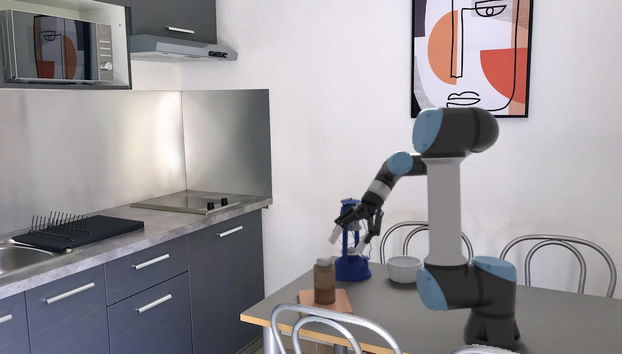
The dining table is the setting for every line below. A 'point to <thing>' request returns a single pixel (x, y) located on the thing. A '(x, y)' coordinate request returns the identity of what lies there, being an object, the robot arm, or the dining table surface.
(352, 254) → the lantern
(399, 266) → the ramekin
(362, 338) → the dining table surface
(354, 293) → the dining table surface
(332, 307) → the plate
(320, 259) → the pepper mill
